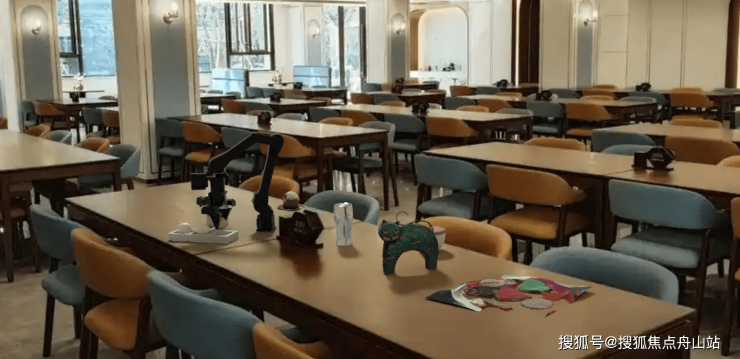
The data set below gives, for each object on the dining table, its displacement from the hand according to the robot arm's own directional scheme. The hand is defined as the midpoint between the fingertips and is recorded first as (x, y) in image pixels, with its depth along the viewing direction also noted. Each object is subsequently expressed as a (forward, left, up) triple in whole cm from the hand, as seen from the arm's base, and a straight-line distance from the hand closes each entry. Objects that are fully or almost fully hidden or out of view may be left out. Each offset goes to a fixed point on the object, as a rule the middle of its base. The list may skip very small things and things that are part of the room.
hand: (219, 227), depth 323 cm
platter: (-122, +56, -3) cm, 134 cm away
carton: (+1, +11, -2) cm, 11 cm away
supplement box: (+8, -13, -2) cm, 15 cm away
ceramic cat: (-87, +37, -2) cm, 95 cm away
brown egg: (0, 0, -1) cm, 1 cm away
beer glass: (-55, +8, -2) cm, 56 cm away
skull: (-8, -53, -3) cm, 54 cm away
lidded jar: (-88, +10, -2) cm, 89 cm away
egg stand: (0, 0, -2) cm, 2 cm away
